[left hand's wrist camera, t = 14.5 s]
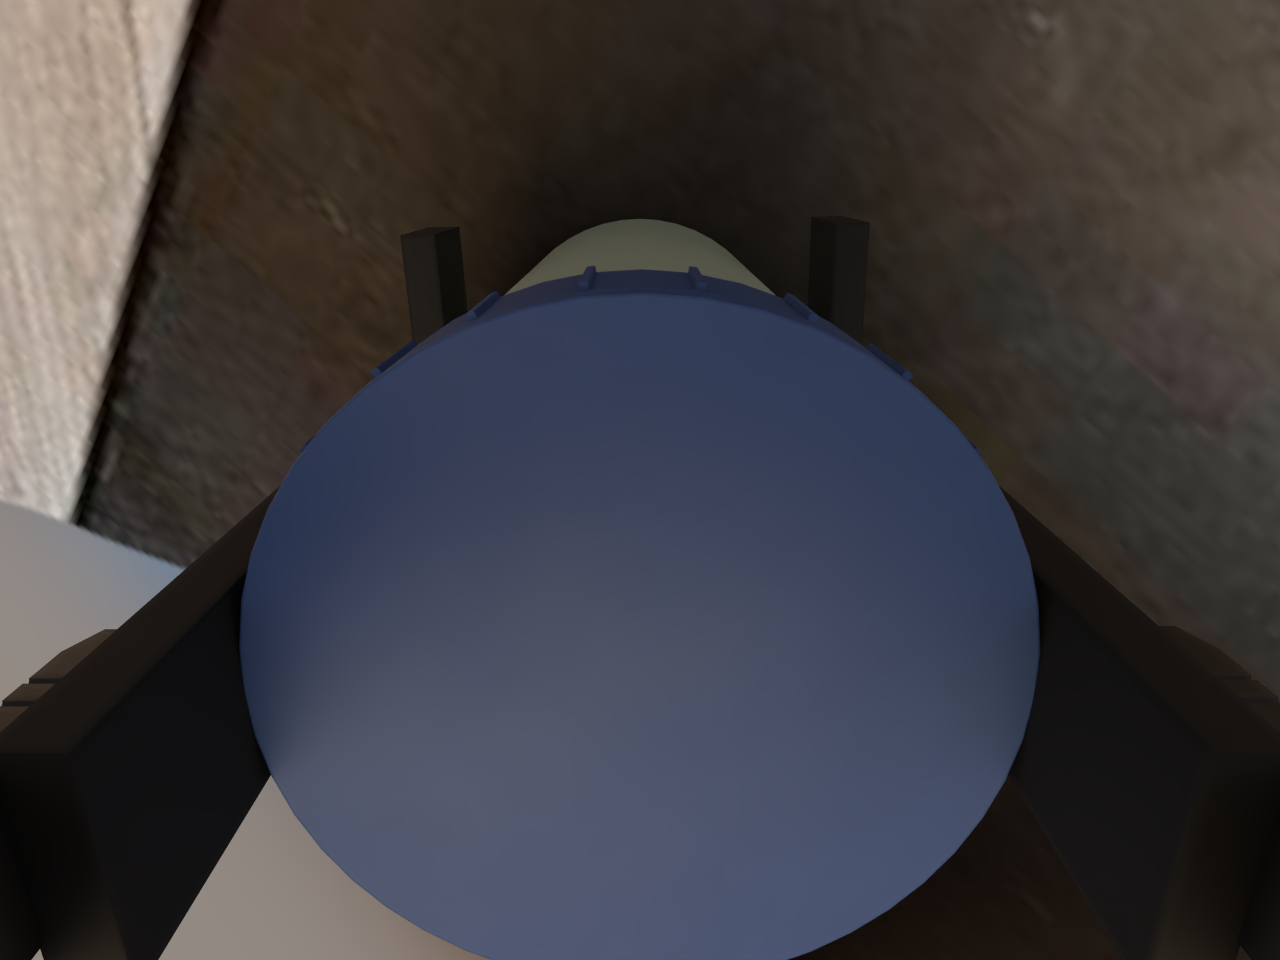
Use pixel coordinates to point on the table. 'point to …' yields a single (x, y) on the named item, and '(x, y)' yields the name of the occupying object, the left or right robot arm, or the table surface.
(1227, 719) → the left robot arm
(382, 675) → the lid
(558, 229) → the table surface
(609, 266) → the jar
